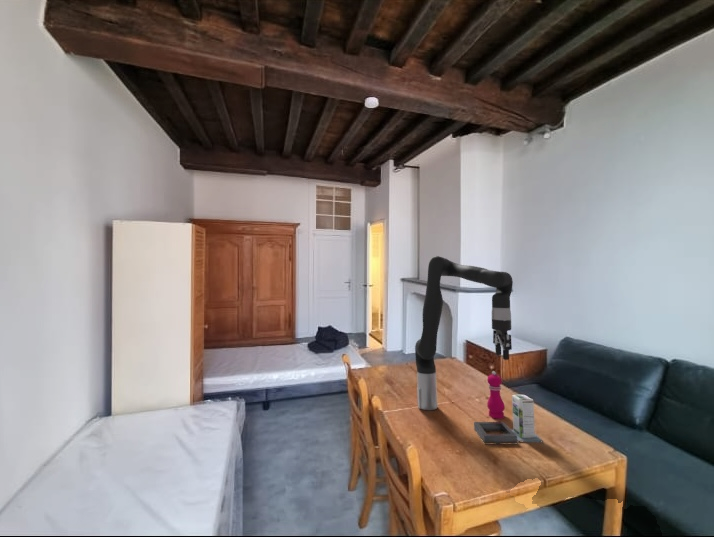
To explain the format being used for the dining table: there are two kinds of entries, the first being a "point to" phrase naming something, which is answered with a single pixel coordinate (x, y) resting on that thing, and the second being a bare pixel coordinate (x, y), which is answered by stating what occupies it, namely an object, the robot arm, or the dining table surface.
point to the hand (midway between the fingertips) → (502, 357)
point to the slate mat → (534, 439)
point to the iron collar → (495, 438)
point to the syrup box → (523, 416)
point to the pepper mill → (495, 397)
